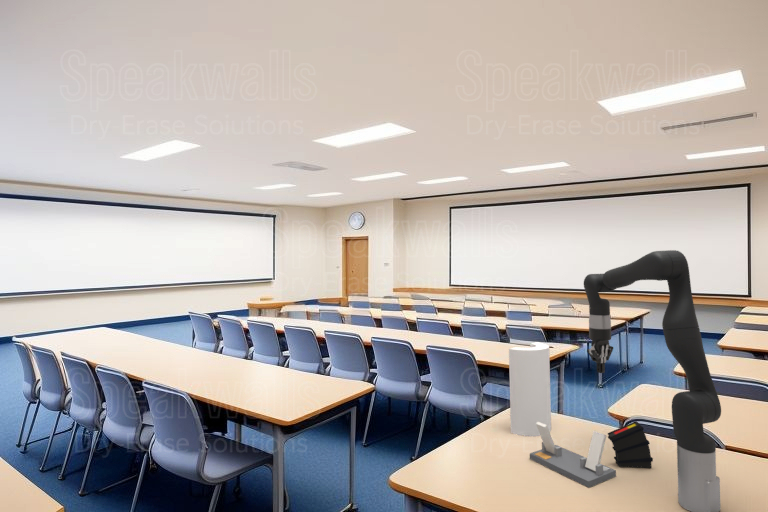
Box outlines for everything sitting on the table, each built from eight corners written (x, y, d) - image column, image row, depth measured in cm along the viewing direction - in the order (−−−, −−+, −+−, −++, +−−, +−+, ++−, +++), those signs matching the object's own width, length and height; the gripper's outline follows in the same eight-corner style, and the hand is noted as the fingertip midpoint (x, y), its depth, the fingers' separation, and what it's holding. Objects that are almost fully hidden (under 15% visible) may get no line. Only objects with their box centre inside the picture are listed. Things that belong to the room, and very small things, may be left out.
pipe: (509, 432, 187) (536, 420, 200) (533, 440, 178) (560, 427, 191) (507, 348, 187) (535, 341, 200) (531, 352, 178) (558, 345, 191)
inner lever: (598, 472, 146) (606, 435, 149) (595, 471, 146) (604, 434, 148) (587, 467, 150) (595, 431, 152) (585, 466, 149) (593, 430, 152)
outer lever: (557, 452, 160) (546, 425, 158) (555, 454, 160) (544, 427, 157) (548, 448, 164) (537, 421, 161) (546, 450, 163) (535, 423, 161)
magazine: (662, 464, 152) (641, 424, 153) (625, 479, 153) (605, 439, 154) (657, 459, 156) (636, 420, 157) (621, 474, 157) (601, 435, 158)
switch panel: (616, 476, 148) (615, 461, 148) (588, 487, 141) (588, 471, 141) (555, 450, 169) (555, 436, 169) (529, 458, 162) (529, 445, 162)
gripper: (597, 329, 162) (598, 377, 162) (620, 326, 169) (621, 372, 168) (579, 327, 169) (580, 373, 168) (601, 323, 175) (602, 368, 175)
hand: (600, 372), depth 168 cm, fingers closed
